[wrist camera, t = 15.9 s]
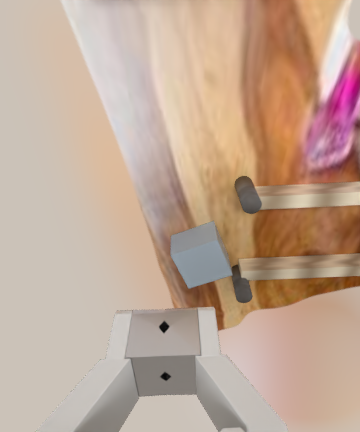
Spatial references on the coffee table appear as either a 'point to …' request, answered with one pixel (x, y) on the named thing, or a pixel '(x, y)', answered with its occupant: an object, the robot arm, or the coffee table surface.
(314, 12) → the coffee table surface
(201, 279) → the block
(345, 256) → the double bar rack
